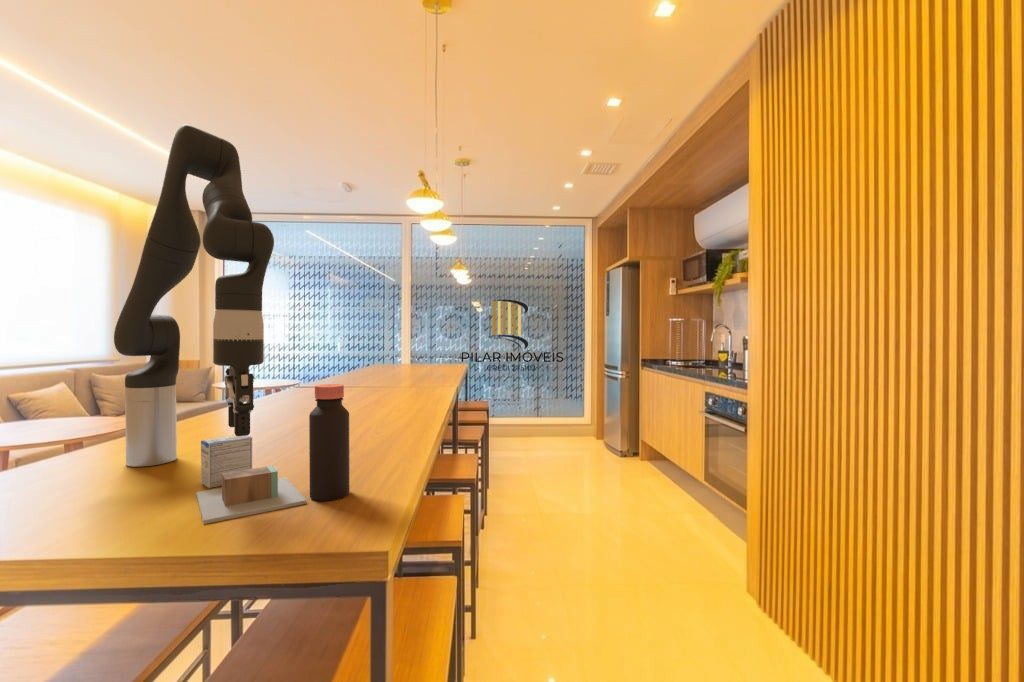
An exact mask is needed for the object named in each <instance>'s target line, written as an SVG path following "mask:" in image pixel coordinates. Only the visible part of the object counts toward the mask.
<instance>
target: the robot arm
mask: <svg viewBox="0 0 1024 682" xmlns="http://www.w3.org/2000/svg"><path fill="white" fill-rule="evenodd" d="M188 175H190V176H193V177H197V178H199V179H202V180H205V181H207V182H208V184H207V185H206V186H205V187H204V188H203V192H202V197H201V198H202V204H203V208H204V211H205V215H206V218H207V220H206V224H205V226H204V228H203V233H202V238H201V234H200V231H199V228H198V226H197V224H196V221H195V218H194V216H193V213H192V211H191V208H190V205H189V200H188V197H187V191H186V187H187V185H186V183H187V178H188ZM156 205H157V206H156V209H155V212H154V214H153V217H152V221H151V223H150V226H149V229H148V232H147V234H146V238H145V241H144V245H143V248H142V252H141V257H140V261H139V264H138V267H137V270H136V274H135V277H134V280H133V283H132V285H131V287H130V291H129V293H128V296H127V298H126V300H125V302H124V304H123V307H122V310H121V312H120V314H119V316H118V319H117V322H116V325H115V328H114V332H113V342H114V347H115V349H116V351H117V352H118V353H119V354H120V355H123V356H126V357H145V356H147V357H150V359H149V361H148V363H146V364H145V365H144V366H142V367H140V368H138V369H135V370H133V371H131V372H128V373H127V374H126V375H125V378H124V405H125V406H124V409H125V412H124V414H125V415H124V417H125V420H124V421H125V465H126V466H128V467H134V468H135V467H138V468H139V467H150V466H151V467H152V466H156V465H157V466H158V465H163V464H167V463H168V464H169V463H171V462H173V461H176V460H177V459H178V457H177V456H178V455H177V454H178V453H177V452H178V451H177V449H178V448H177V447H178V446H177V444H178V443H177V442H178V439H177V438H178V434H177V429H178V428H177V422H178V421H177V377H178V373H179V369H180V348H181V333H180V331H181V330H180V326H179V324H178V322H177V320H176V319H175V318H174V317H172V315H171V316H170V315H167V314H166V315H165V314H153V312H154V310H155V309H156V306H157V304H158V303H160V300H162V298H163V297H165V296H166V295H167V293H168V292H170V291H171V290H172V289H174V288H175V287H177V286H178V285H179V284H180V283H181V282H182V281H184V279H186V277H187V276H188V275H189V274H190V273H191V272H192V270H193V268H194V265H195V262H196V260H197V258H198V257H197V256H198V254H199V251H200V248H201V242H202V246H203V248H204V249H203V250H205V252H206V253H207V254H208V255H209V256H211V257H212V258H214V259H217V260H221V261H227V262H229V261H231V262H240V263H241V262H242V263H248V266H247V268H246V270H245V271H243V272H242V273H241V272H240V273H232V274H225V275H221V276H218V278H216V280H215V285H214V293H215V294H214V308H215V309H214V310H215V311H214V318H213V326H212V327H213V329H212V330H213V332H212V334H213V335H212V337H213V338H212V339H213V342H212V343H213V344H212V345H213V346H212V348H213V351H212V352H213V353H212V354H213V355H212V357H213V358H212V359H213V360H212V361H213V364H214V365H216V366H221V367H226V370H225V374H226V375H224V380H223V381H224V388H225V389H224V396H225V397H224V398H225V400H226V404H227V406H228V411H227V413H228V414H227V415H228V416H227V417H228V421H227V423H228V424H227V425H228V426H229V427H230V428H234V432H233V433H234V435H236V436H246V435H248V436H250V434H251V413H252V411H254V408H255V405H254V381H255V376H254V374H253V373H250V367H251V366H258V365H261V364H263V363H264V351H265V350H264V347H265V345H264V344H265V343H264V342H265V341H264V340H265V339H264V337H265V336H264V334H265V332H264V331H265V330H264V329H265V326H264V325H265V324H264V318H263V288H264V287H263V286H264V282H265V281H264V280H265V277H266V272H267V269H268V265H269V262H270V260H271V257H272V254H273V250H274V246H275V237H274V235H273V233H272V231H271V229H270V228H269V227H268V226H267V225H266V224H264V223H261V222H256V221H253V215H252V214H253V213H252V211H251V208H250V206H249V204H248V202H247V199H246V197H245V194H244V191H243V182H242V171H241V163H240V156H239V153H238V150H237V148H236V147H235V145H234V144H233V143H231V142H230V141H228V140H226V139H224V138H221V137H219V136H217V135H214V134H213V133H210V132H207V131H205V130H203V129H201V128H197V127H195V126H193V125H190V124H183V125H181V126H180V127H179V128H178V129H177V131H176V132H175V134H174V137H173V140H172V143H171V147H170V151H169V155H168V160H167V164H166V170H165V175H164V178H163V183H162V187H161V192H160V196H159V199H158V202H157V204H156ZM201 240H202V241H201Z"/></svg>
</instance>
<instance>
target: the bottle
mask: <svg viewBox="0 0 1024 682" xmlns="http://www.w3.org/2000/svg"><path fill="white" fill-rule="evenodd" d="M344 388H345V387H344V384H339V383H335V384H334V383H332V384H331V383H329V384H327V383H326V384H318V385H314V399H315V402H316V406H315V407H314V408H313V409H312V410H311V412H309V415H308V417H309V418H308V420H309V422H308V423H309V424H308V425H309V426H308V428H309V430H308V431H309V432H308V433H309V435H308V437H309V442H308V443H309V445H308V446H309V447H308V448H309V452H308V453H309V498H311V499H312V500H314V501H317V502H329V501H335V500H340V499H342V498H344V497H346V496H348V495H349V493H350V412H349V411H348V409H347V408H345V406H344V405H343V401H344V397H345V394H344V393H345V391H344V390H345V389H344Z"/></svg>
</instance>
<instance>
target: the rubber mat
mask: <svg viewBox="0 0 1024 682" xmlns="http://www.w3.org/2000/svg"><path fill="white" fill-rule="evenodd" d="M195 496H196V501H197V503H198V509H199V510H200V511H199V512H200V517H201V519H202V520H201V521H202V524H203V525H206V524H211V523H216V522H221V521H222V522H223V521H227V520H232V519H236V518H241V517H242V518H243V517H247V516H251V515H256V514H261V513H267V512H271V511H276V510H281V509H286V508H292V507H296V506H301V505H306V504H307V499H306V497H304V496H303V495H302V493H301V492H299V490H298V489H297V488H296V487H295V486H294V484H293V483H292V482H291V481H290V480H289V479H288V478H287V477H286V476H284V477H279V478H278V497H274V498H268V499H263V500H258V501H252V502H247V503H242V504H236V505H231V506H226V507H225V505H224V502H223V500H222V487H220V488H219V487H218V488H211V489H208V490H207V489H205V490H200V491H196V492H195Z"/></svg>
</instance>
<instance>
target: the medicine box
mask: <svg viewBox="0 0 1024 682" xmlns="http://www.w3.org/2000/svg"><path fill="white" fill-rule="evenodd" d="M200 462H201V463H200V471H201V474H200V475H201V477H200V478H201V479H200V480H201V484H202V485H204V487H207V488H208V489H213V488H215V487H216V488H217V487H220V486H221V487H222V473H226V472H233V471H240V470H246V469H253V437H252V436H250V435H246V436H236V435H235V434H233V435H232V434H231V435H226V436H219V437H212V438H209V439H208V438H207V439H202V440H201V441H200Z"/></svg>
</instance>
